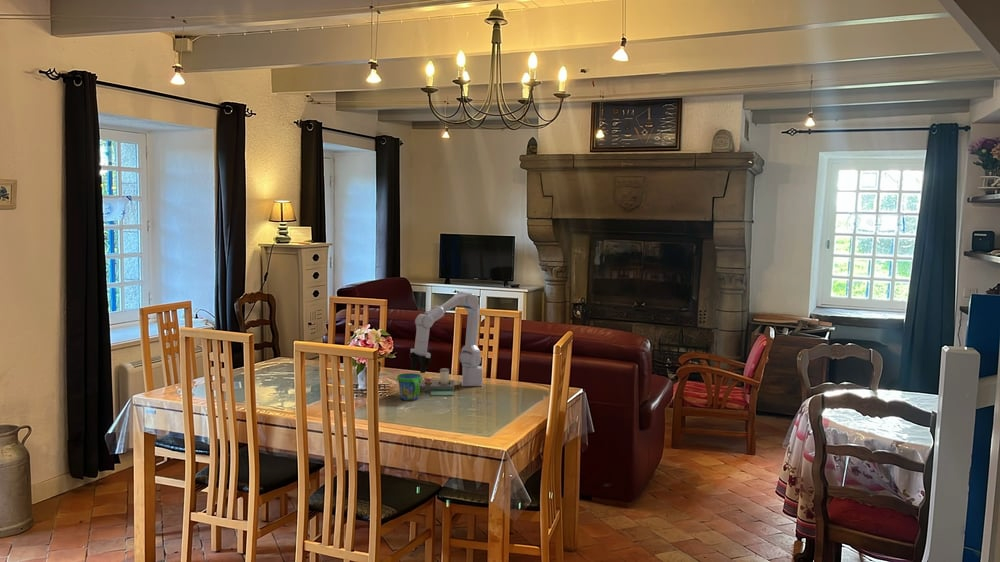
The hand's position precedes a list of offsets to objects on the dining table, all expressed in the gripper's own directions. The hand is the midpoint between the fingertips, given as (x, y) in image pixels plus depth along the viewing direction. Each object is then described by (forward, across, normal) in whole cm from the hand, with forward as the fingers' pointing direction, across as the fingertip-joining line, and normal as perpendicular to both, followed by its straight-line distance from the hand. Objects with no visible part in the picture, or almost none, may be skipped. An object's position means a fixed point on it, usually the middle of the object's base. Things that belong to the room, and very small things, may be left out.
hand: (418, 371), depth 327 cm
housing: (+8, -4, +14) cm, 16 cm away
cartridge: (+8, -2, +16) cm, 18 cm away
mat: (+9, +7, +10) cm, 15 cm away
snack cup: (+11, +6, -6) cm, 14 cm away
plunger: (+7, -6, +10) cm, 13 cm away
